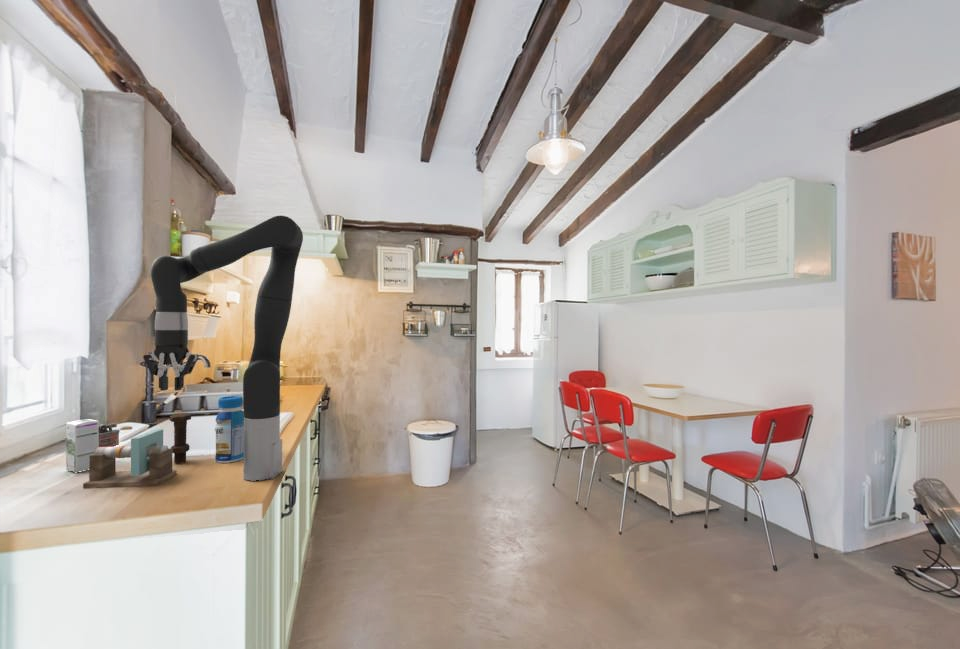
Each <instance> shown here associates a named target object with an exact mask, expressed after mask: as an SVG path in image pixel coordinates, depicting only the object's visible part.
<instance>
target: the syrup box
mask: <svg viewBox="0 0 960 649" xmlns="http://www.w3.org/2000/svg"><path fill="white" fill-rule="evenodd" d="M65 425H66V426H65V431H66V432H65V434H66V435H65V441H66V442H65V443H66V444H65V445H66V447H65V448H66V449H65V450H66V451H65V455H66V471H67V470H70V471H73V472H79V471H83V470H88V469H89V462H90V455H92V454H95V451H96V449H97V448H98V447H99V431H98V426H99V420H96V419H90V418H87V419H78V420H73V421H68V422H66V423H65ZM70 471H69V472H70ZM73 472H72V473H73Z"/></svg>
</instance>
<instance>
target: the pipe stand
mask: <svg viewBox="0 0 960 649" xmlns="http://www.w3.org/2000/svg"><path fill="white" fill-rule="evenodd" d="M173 454H174V453H173V448H172V449H171V448H169V447H168V445H163V446H147V457H149V471H147V472H145V473H143V474H141V475H139V476H131V470H127V471H124V470H122V471H116V464H117V460H116V459H125V458H128V459H129V458H130V459H131V445H130V446H129V445H121V446H119V447H98V448H97V449H96V451H95V454H92V455H90V462H89V472H88V474H89V475H88V476H89V478H88V481H86V482H84V483H82V488H83V489H96V488H97V487H102V488H128V487H130V488H131V487H133V488H134V487H156V486H159V485H160V484H162V483H164V482H165V481H167V480H169V479H171V478H172V477H174V476H175V475H177V472H178V471H177V469H173ZM86 487H87V488H86ZM97 489H98V488H97Z"/></svg>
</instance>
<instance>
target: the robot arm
mask: <svg viewBox="0 0 960 649" xmlns="http://www.w3.org/2000/svg"><path fill="white" fill-rule="evenodd" d="M303 239H304V236H303V231H302V229H301V227H300V226H299V225H298V224H297V222H296V221H294V220H293V219H292V218H291V217H289V216H286V215H276V216H272V217H270V218H268V219H266V220H264V221H262V222H260V223H259V224H256V225H255V226H253V227H251V228H248V229H245V230H244V231H242V232H240V233H237V234H234V235H232V236H230V237H227V238H224V239H221V240H217V241H215V242H212V243H209V244H205V245H202V246H199V247H197V248H196V247H195V248H194V249H192V250H191V251H190V252H189V253H188V255H185V256H181V257H178V258H176V257H173V256H169V255H161V256H158V257H156V259H154V261H153V262H152V264H151V268H150V277H151V281H152V282H151V283H152V286H153V290H154V293H155V297H156V299H155V318H154V346H155V348H154V350H153V352H152V353H149V354H144V355H143V360H144V362H145V365H146V366H147V369H148V371H149V372H150V373H149V374H150V375H151V376H157V377H158V388H159V389H160V391H163V392H165V391H167V390H168V389H169V376H168V374H169V369H170V368H171V366H172V369H173V372H174V376H175V377H174V391H181V390H182V389H183V388H184V386H185V376H187V375H189V374H192V373H193V370H194V368H195V366H196V364H197V361H198V359H199V357H200V355H199V354H197V353H195V354H194V353H193V352H190V351H189V348H188V344H189V339H188V338H189V321H188V319H189V318H188V298H187V294H185V293H184V291H182V287H181V285H182V283H187V282H189V281H192V280H194V279H196V278H198V277H200V276H202V275H204V274H205V273H207V272H208V273H209V272H211V271H214V270H218V269H220V268H223V267H226V266H229V265H232V264H233V263H236V262H237V261H239V260H240V259H243V258H244V257H245V256H247V255H250V254H251V253H254V252H256V251H260V250H263V249H268V248H271V252H270V262H269V266H268V269H267V271H266V273H265V275H264V276H263V279H262V281H261V282H260V285H259V289H258V290H257V291H258V292H257V297H256V300H255V301H256V302H255V308H254V309H255V310H254V322H253V324H254V328H253V329H254V342H253V348H252V352H251V356H250V359H249V362H248V365H247V368H246V369H245V371H244V373H243V377H242V398H243V405H242V408H243V413H244V458H243V480H245V481H249V480H250V482H255V481H256V480H259V481H265V479H266V480H270V479H276V477H278V476H279V474H281V473H282V472H283V439H281V437H280V436H281V432H280V428H281V426H280V425H281V423H280V422H281V419H280V418H281V368H280V367H281V366H280V365H281V351H282V344H283V340H284V336H285V333H286V330H287V328H288V324H289V319H290V315H291V309H292V303H293V302H292V301H293V293H294V287H295V286H294V285H295V273H296V267H297V263H298V260H299V257H300V256H299V255H300V252H301V249H302V245H303V241H304V240H303ZM185 359H186V363H185V362H184V361H185ZM157 360H158V362H157ZM269 478H270V479H269Z"/></svg>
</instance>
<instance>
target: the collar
mask: <svg viewBox="0 0 960 649" xmlns="http://www.w3.org/2000/svg"><path fill="white" fill-rule="evenodd" d="M130 446H131V458H130V471H131V476H139V475H141V474H143V473H145V472H147V471H149V457H147V446H164V428H161V429H160V428H158V429H157V428H156V429H152V430H150V431H148V432H145V433H142V434H139V435H136V436H134V437H131V438H130Z"/></svg>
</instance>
